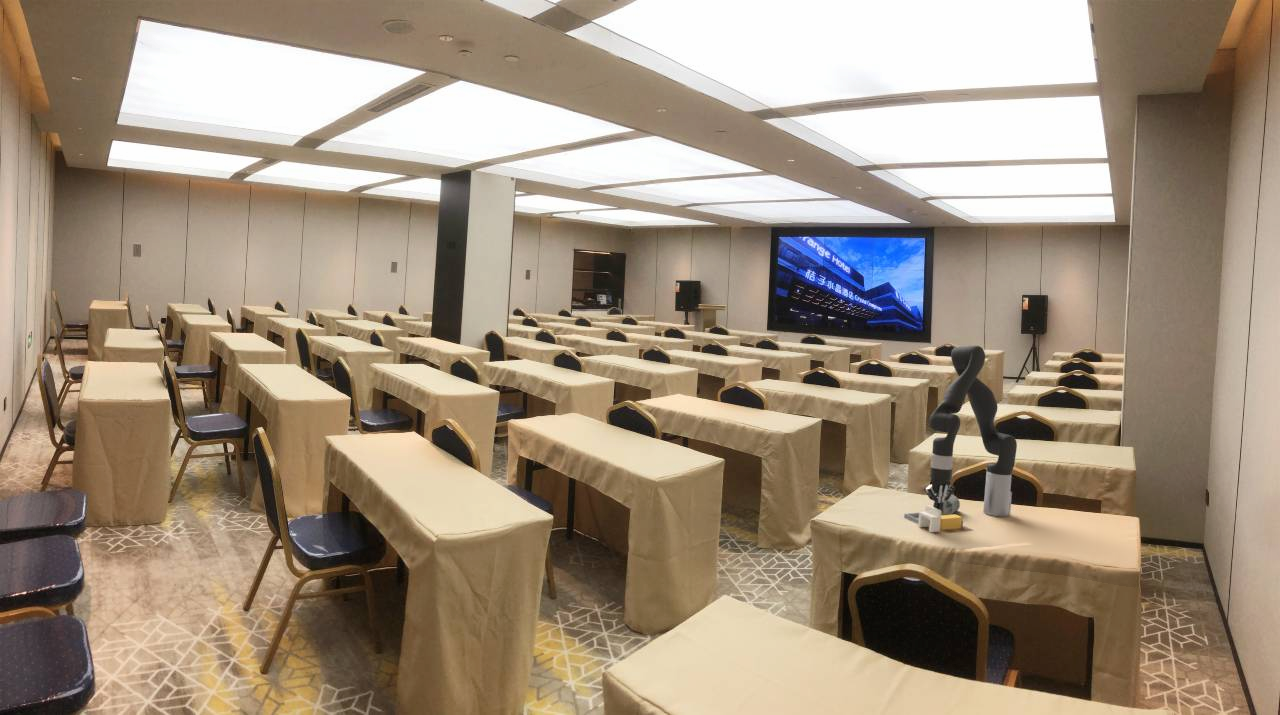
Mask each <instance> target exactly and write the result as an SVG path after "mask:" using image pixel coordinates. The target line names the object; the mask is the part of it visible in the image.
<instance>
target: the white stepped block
mask: <svg viewBox="0 0 1280 715" xmlns="http://www.w3.org/2000/svg"><path fill="white" fill-rule="evenodd" d="M918 513H919V517H918V519H919V522H918V523H917V525H918V526H917V527H918V528H921V527H928V526H929V519H930V526H929V531H928V532H929V533H932V532H939V531H940V521H941V510H939V509H937V508H934V507H933V505H931V504H926V505H925V510H924V511H918Z"/></svg>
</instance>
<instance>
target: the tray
mask: <svg viewBox="0 0 1280 715" xmlns="http://www.w3.org/2000/svg"><path fill="white" fill-rule="evenodd" d="M941 516H942V515H941ZM903 517H904V518H905V519H907V520H909V521H911V522H914V523H916V524H918V522H919V512H910V513H904V515H903ZM929 524H930V519H929Z"/></svg>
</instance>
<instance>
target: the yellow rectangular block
mask: <svg viewBox="0 0 1280 715" xmlns="http://www.w3.org/2000/svg"><path fill="white" fill-rule="evenodd" d="M962 521H963V516H960V515H958V514H954V513H953V514H952V515H942V516H941V521H940V529H941V530H947V529H957V528H961V525H962Z"/></svg>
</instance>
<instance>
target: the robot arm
mask: <svg viewBox="0 0 1280 715" xmlns="http://www.w3.org/2000/svg"><path fill="white" fill-rule="evenodd" d="M950 356H951V357H950V358H951V362H952V365H953V368H954V370H955V372H956V374H957V376H958V377H957V378H956V379H955V380H954V381H953V382H951V383H950V385H949V386H948V387H947V389H946V390H945V393H944V395H943V398H942V401H941V402H940V404H938V406H937V407H936V409H934V411H933V412H932V413H931V414H930V416H929V421H928V424H929V425H928V426H929V427H930V429H931V430H932V431H935V432H942V433H946V434H947V435H946V436H945V437H936V438H934V439H933V441H932V453H931V458H930V468H929V469H930V470H929V477H930V482H929V485H928V486H927V487H924V488H923V490H924V492H925V493H926V495H927V496H928V498H929V500H931V501H933V503H934V508H937V509H939V510H941V512H942V510H943V502H944V501H945V500H948V499H949V498H950V496H951V495H953V493H954V491H955V490H956V487H955V486H953V485H951V480H952V478H953V476H952V475H953V465H954V464H953V463H954V461H953V459H954V457H953V454H954V444H955V441H956V438H957V435H958V432H959V430H960V427H961V419H960V417H959V416H958V415H957V414H958V413H959V412H960V411H961V410H962V406H963V404H964V401H965V399H966V396H967V398H968V401H969V404H970V406H971V409H972V411H973V413H974V417H975V420H976V423H977V425H978V428H979V431H980V435H981V439H982V444H983V446H984V449H985V450H986V452H987V453H989V454H990V455H994V456H997V457H998V458H997V461H995V462H991V463H988V464H987V465H986V472H985V473H986V474H985V486H984V499H983V509H982V510H983V513H984V514H986V515H989V516H993V517H1001V518H1004V517H1008V516H1010V515H1011V510H1012V496H1013V492H1012V491H1011V486H1012V474H1013V469H1014V467H1015V465H1016V463H1015V462H1016V456H1017V454H1016V453H1017V447H1018V444H1017V439H1016V438H1015V437H1014V436H1013V435H1010V434H1006V433H1002V432H999V431H998V430H997V428H996V425H995V423H994V422H995V421H994V419H995V418H996V415H997V412H998V402H997V399H996V397H995V395H994V392H993V391H992V389H991V388H990V387H989V386H987V385H986V384H985V383H984V382H983V381H982V380H980V379H979V377H978V375H979V374H980V372H981V370H982V369H983V367H984V364H985V363H986V362H985V361H986V352H985V350H984V348H983V347H981V346H980V345H965V346H963V345H962V346H956V347H953V349H952V350H951V354H950ZM946 495H947V496H946ZM945 496H946V497H945Z"/></svg>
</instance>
